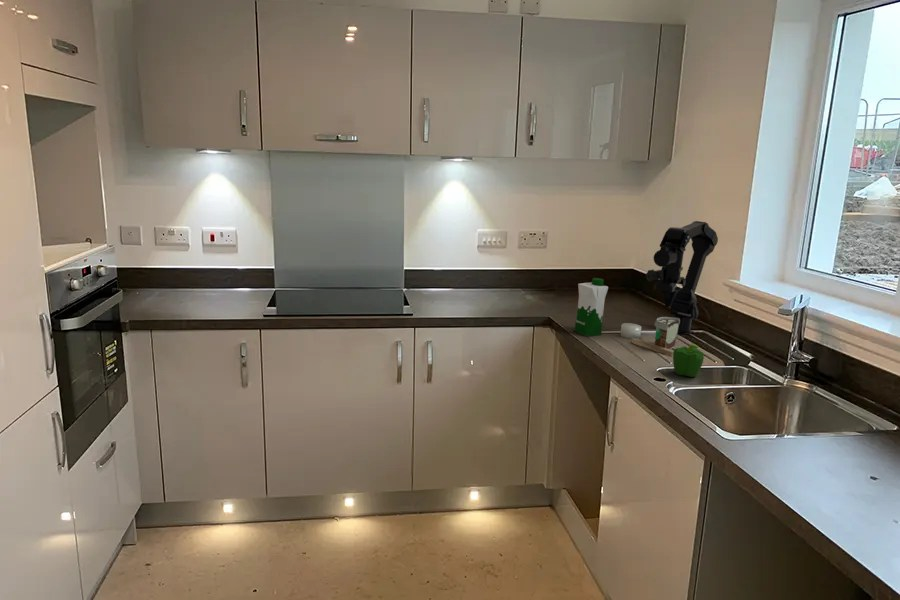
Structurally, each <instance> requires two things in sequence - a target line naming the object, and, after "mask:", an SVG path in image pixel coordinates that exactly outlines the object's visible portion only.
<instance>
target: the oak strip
mask: <svg viewBox="0 0 900 600" xmlns="http://www.w3.org/2000/svg"><path fill="white" fill-rule="evenodd" d="M631 340H632V341H631V344H633V345H637V346H640V347H642V348H645V349H648V350H652V351H655V352H658V353H660V354H663V355H666V356H669V357H673V353H674V350H672V349H670V350H669V349H666V348H663V347H660V346H657V345H655V343H650V342H647V341H644V340H641V339H640V338H639V339H636V338H634V339H631Z"/></svg>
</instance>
